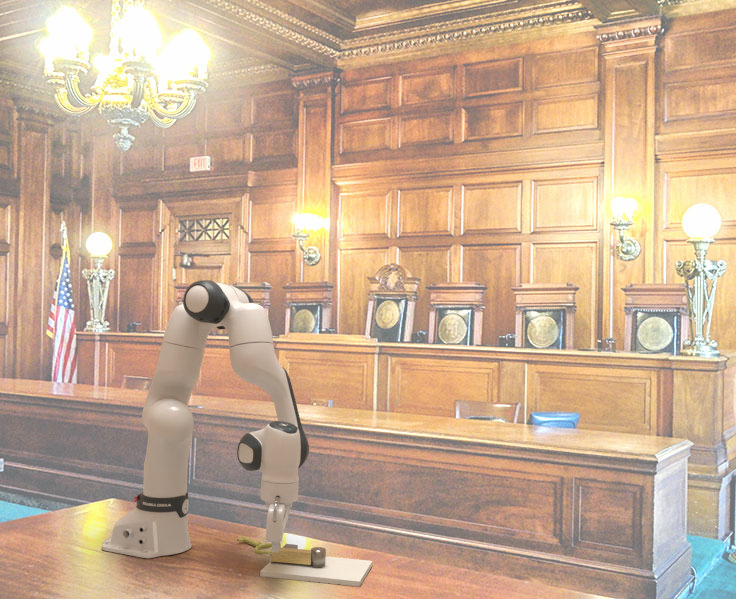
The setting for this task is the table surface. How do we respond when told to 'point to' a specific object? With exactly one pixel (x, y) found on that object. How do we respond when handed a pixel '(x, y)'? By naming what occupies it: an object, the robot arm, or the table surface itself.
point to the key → (256, 545)
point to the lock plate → (321, 570)
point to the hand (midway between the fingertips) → (275, 550)
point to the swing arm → (301, 556)
